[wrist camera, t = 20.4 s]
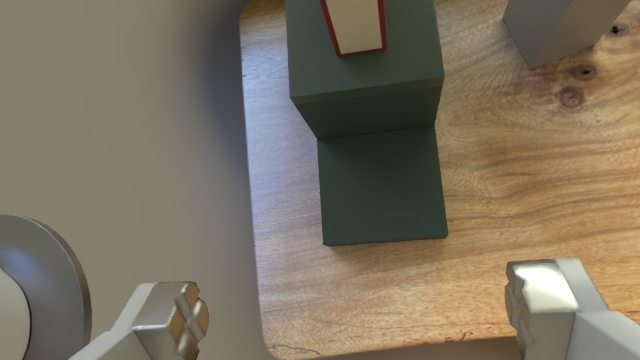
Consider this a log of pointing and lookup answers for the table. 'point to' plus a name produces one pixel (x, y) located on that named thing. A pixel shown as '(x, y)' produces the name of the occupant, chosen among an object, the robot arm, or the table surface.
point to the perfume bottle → (558, 26)
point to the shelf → (372, 124)
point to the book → (355, 25)
